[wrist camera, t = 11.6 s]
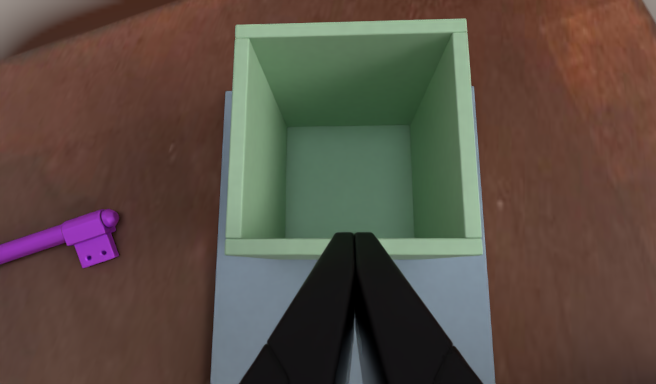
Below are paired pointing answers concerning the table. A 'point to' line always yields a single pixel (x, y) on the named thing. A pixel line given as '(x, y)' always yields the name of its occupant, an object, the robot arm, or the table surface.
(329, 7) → the table surface
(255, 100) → the matte sage cube
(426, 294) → the mat
